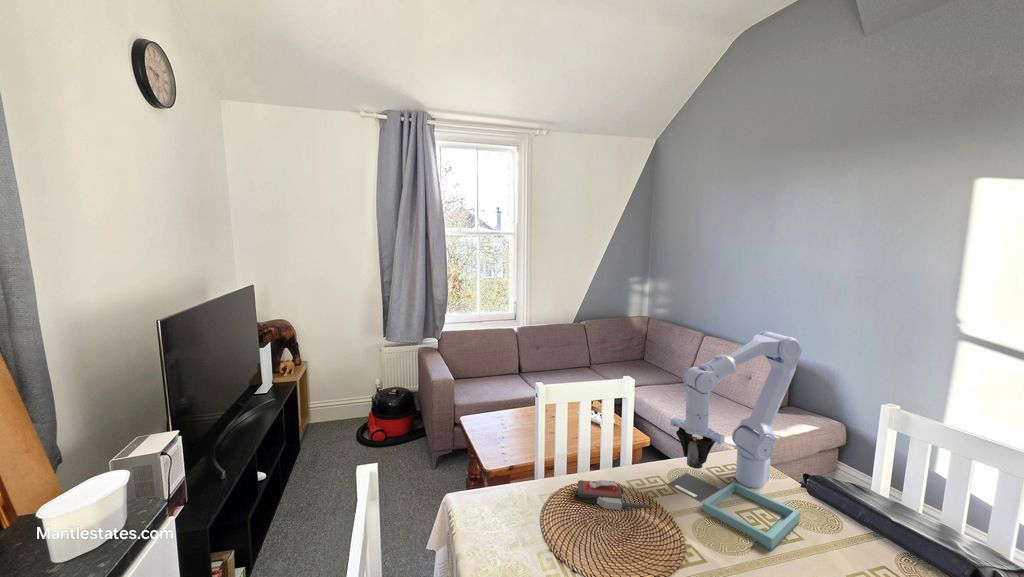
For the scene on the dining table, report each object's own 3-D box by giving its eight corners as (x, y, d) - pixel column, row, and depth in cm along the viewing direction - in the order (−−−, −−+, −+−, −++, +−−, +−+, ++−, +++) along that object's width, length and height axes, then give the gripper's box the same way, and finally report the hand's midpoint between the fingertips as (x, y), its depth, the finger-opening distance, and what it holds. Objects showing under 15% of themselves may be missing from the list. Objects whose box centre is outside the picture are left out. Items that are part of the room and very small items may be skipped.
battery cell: (691, 459, 117) (692, 433, 116) (705, 465, 114) (706, 438, 113) (683, 463, 114) (685, 437, 114) (697, 470, 111) (698, 442, 110)
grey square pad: (686, 476, 122) (686, 472, 122) (719, 492, 114) (720, 488, 114) (666, 487, 116) (666, 483, 116) (700, 505, 108) (700, 501, 108)
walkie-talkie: (573, 507, 107) (653, 515, 104) (574, 491, 107) (654, 499, 104) (573, 488, 116) (647, 494, 113) (574, 473, 116) (647, 479, 113)
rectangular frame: (732, 491, 114) (733, 481, 114) (799, 523, 101) (800, 511, 101) (702, 513, 104) (702, 502, 104) (771, 551, 92) (772, 538, 91)
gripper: (665, 406, 116) (663, 452, 117) (715, 424, 104) (713, 475, 106) (679, 401, 120) (677, 445, 122) (729, 417, 109) (726, 466, 110)
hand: (694, 459), depth 114 cm, fingers closed on battery cell, 4 cm apart
